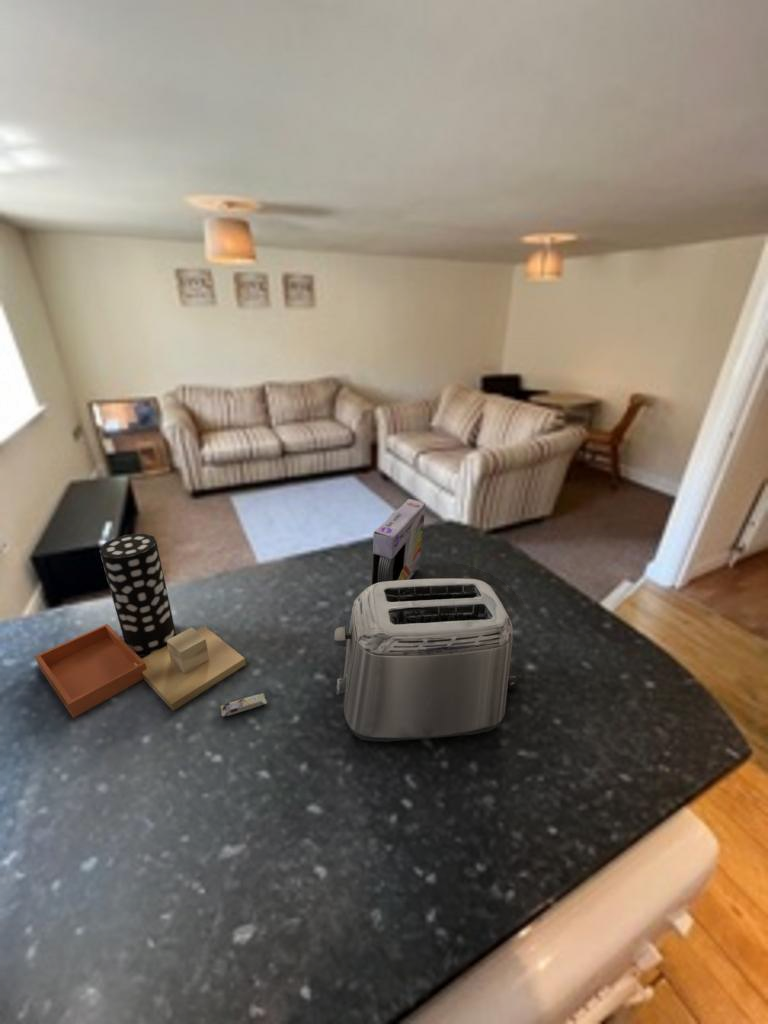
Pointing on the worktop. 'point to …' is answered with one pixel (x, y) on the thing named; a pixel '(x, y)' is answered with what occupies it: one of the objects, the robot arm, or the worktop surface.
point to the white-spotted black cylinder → (138, 591)
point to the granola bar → (243, 704)
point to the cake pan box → (398, 543)
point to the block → (188, 650)
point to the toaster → (425, 660)
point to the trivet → (191, 684)
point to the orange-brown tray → (90, 668)
